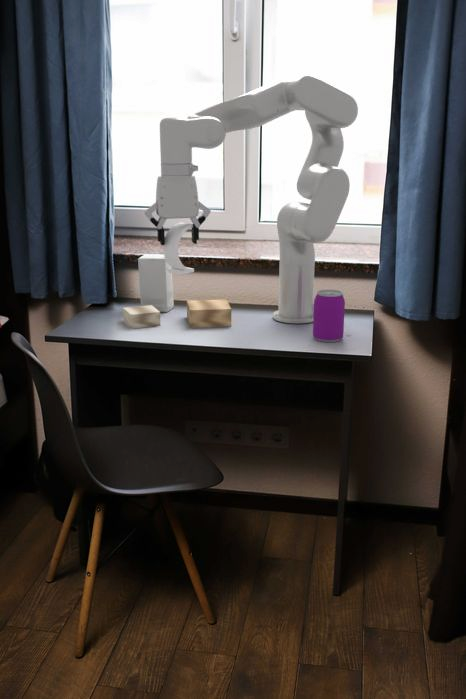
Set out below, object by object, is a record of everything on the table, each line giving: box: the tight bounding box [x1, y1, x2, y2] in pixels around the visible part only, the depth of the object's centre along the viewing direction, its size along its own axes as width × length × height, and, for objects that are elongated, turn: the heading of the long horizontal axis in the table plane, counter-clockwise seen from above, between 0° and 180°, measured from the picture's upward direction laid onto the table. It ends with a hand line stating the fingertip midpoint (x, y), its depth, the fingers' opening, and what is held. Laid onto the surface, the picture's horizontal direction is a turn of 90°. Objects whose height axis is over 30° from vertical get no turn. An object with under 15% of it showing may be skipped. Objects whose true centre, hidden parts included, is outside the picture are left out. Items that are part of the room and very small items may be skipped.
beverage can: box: [312, 289, 346, 343], centre depth 200 cm, size 8×8×12 cm
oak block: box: [186, 298, 232, 328], centre depth 217 cm, size 11×11×5 cm
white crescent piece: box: [162, 221, 195, 276], centre depth 199 cm, size 5×6×12 cm
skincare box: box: [137, 253, 175, 313], centre depth 228 cm, size 8×7×16 cm
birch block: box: [122, 305, 161, 329], centre depth 215 cm, size 8×8×4 cm
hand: (178, 243), depth 198 cm, fingers closed on white crescent piece, 7 cm apart
